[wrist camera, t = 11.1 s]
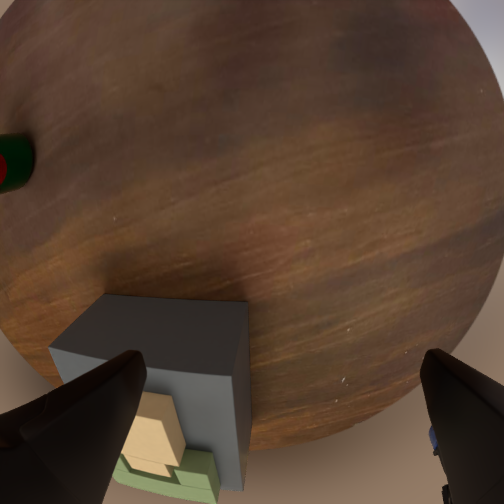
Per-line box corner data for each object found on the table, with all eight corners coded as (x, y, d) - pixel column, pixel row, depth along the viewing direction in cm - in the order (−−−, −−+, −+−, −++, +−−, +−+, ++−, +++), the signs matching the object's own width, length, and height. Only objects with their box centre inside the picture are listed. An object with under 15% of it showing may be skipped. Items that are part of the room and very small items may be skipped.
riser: (248, 301, 22) (231, 376, 14) (252, 424, 26) (243, 491, 18) (103, 293, 23) (47, 346, 15) (139, 409, 27) (111, 465, 20)
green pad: (212, 451, 17) (207, 475, 15) (220, 484, 18) (216, 504, 16) (102, 429, 17) (92, 447, 15) (124, 465, 19) (117, 482, 17)
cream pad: (171, 395, 15) (161, 420, 13) (191, 458, 17) (185, 480, 15) (97, 381, 15) (83, 401, 14) (128, 445, 18) (119, 464, 16)
